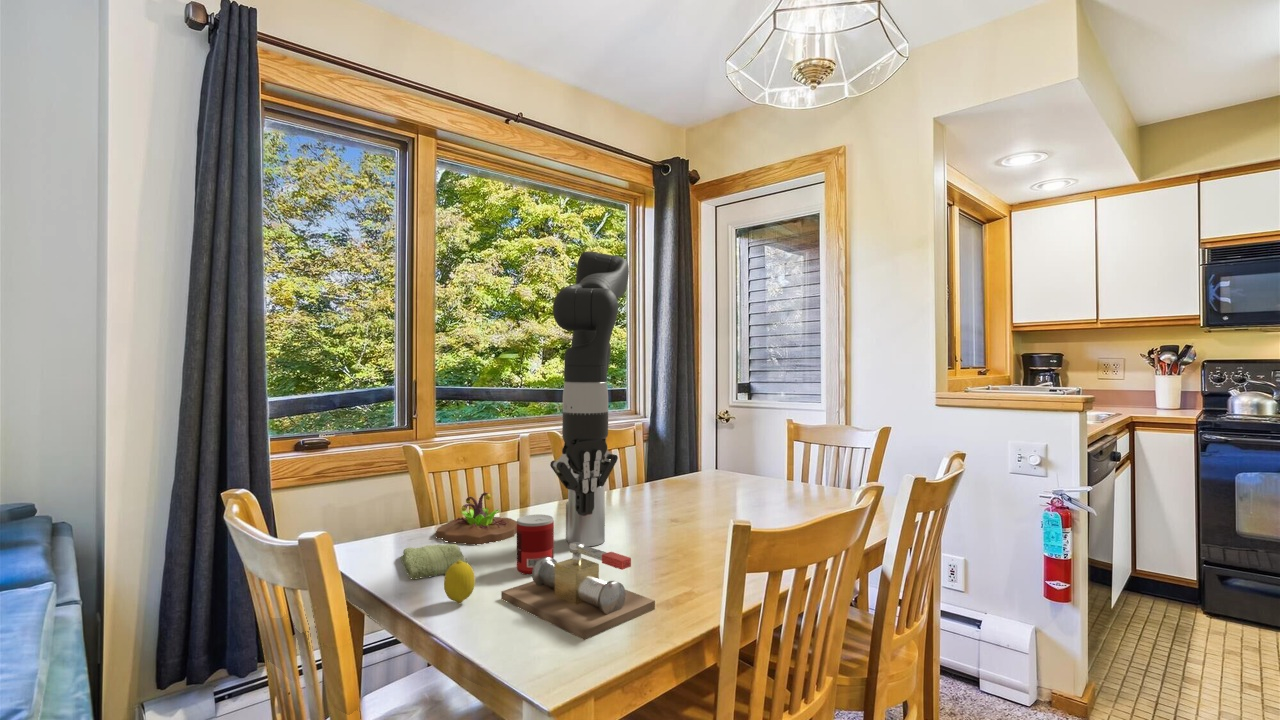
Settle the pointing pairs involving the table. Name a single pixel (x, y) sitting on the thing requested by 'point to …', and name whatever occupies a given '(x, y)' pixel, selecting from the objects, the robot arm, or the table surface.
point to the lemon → (459, 581)
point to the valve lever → (601, 555)
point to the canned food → (534, 540)
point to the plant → (477, 525)
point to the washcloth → (430, 560)
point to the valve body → (579, 582)
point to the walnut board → (574, 609)
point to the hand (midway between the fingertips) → (584, 514)
